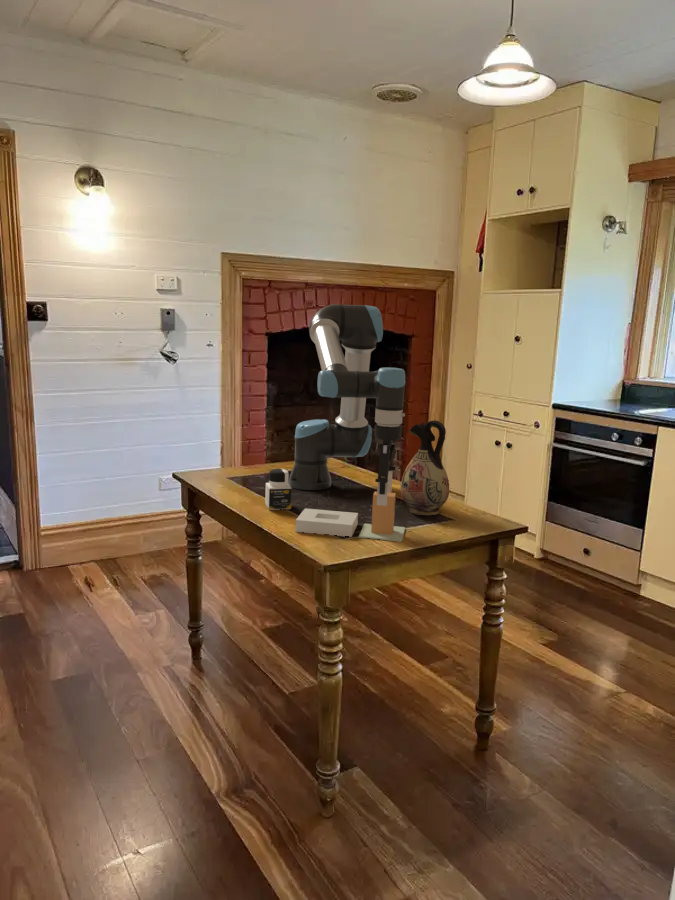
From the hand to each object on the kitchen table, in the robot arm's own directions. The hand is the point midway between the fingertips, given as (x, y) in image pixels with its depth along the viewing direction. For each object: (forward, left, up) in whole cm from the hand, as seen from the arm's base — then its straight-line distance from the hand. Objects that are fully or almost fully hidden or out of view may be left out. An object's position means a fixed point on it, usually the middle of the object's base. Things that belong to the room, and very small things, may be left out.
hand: (384, 498), depth 193 cm
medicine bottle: (-17, -35, -10) cm, 40 cm away
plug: (0, 0, -10) cm, 10 cm away
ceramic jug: (-25, +11, -10) cm, 29 cm away
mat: (0, 0, -10) cm, 10 cm away
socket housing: (0, -16, -10) cm, 19 cm away
